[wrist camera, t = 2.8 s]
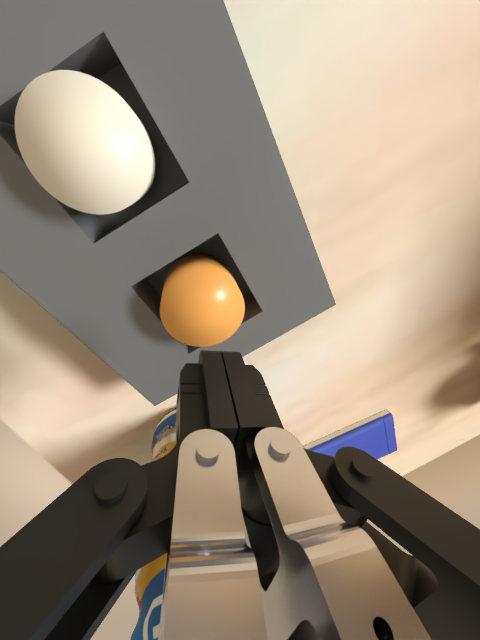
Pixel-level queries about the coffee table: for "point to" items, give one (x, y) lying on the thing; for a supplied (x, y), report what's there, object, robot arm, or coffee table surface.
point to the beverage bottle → (153, 574)
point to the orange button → (201, 301)
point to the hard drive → (361, 437)
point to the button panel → (155, 185)
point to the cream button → (84, 142)
